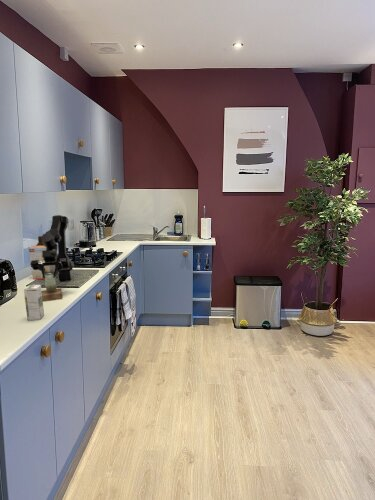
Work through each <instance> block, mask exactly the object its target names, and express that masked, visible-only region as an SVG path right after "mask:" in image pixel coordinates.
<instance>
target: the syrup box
mask: <svg viewBox="0 0 375 500" xmlns="http://www.w3.org/2000/svg"><path fill="white" fill-rule="evenodd" d="M42 291H43V290H42V285H41V284H31V285H27V286H26V287H24V288H23V295H24V303H25V310H26V311H25V312H26V318H27V321H37V320H39V321H40V320H42V318H43V317H44V316H45V312H44V302H43V300H42Z"/></svg>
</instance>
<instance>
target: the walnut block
mask: <svg viewBox="0 0 375 500" xmlns="http://www.w3.org/2000/svg"><path fill="white" fill-rule="evenodd" d="M41 291H42V300H43V303H44V302H47V301H49V302H50V301H56V300H63V291H62V288H61V287H59V288H56V289H55V290H52V291H47V290H46V289H45V290H41Z"/></svg>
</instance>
